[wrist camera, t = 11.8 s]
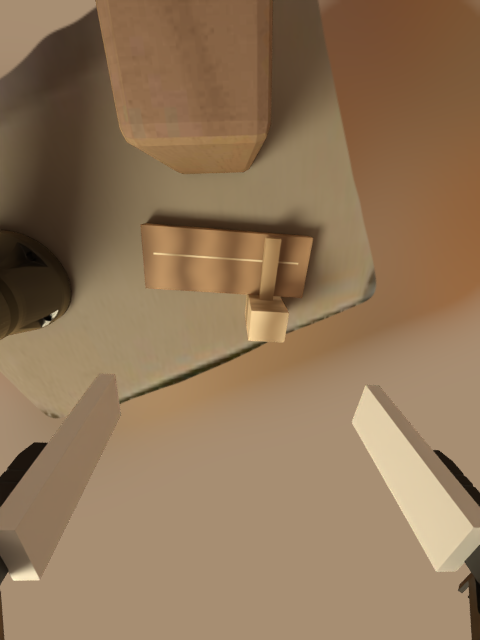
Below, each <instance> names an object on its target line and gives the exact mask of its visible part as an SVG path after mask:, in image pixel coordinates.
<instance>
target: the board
mask: <svg viewBox="0 0 480 640" xmlns="http://www.w3.org/2000/svg"><path fill="white" fill-rule="evenodd" d="M141 236H142V248H143V261H144V273H145V285H146V288H153V289H169V290H185V291H201V292H217V293H233V294H249V295H259V287H260V278H261V270H262V261H263V252H264V243H265V237H274V238H280V239H281V246H280V254H279V261H278V268H277V275H276V282H275V289H274V296H281V297H297V298H302V295H303V289H304V284H305V279H306V274H307V268H308V263H309V258H310V252H311V247H312V242H313V238H312V237H310V236H302V235H290V234H277V233H264V232H251V231H238V230H226V229H213V228H200V227H187V226H175V225H162V224H149V223H145V224H141Z"/></svg>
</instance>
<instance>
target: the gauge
mask: <svg viewBox="0 0 480 640" xmlns="http://www.w3.org/2000/svg"><path fill="white" fill-rule="evenodd" d="M280 246H281V239H280V238H274V237H265V243H264V252H263V261H262V270H261V278H260V287H259V295H249V294H247V299H246V310H245V318H246V326H247V334H248V341H266V342H284V339H285V333H286V327H287V322H288V316H289V312H288V310H287V308H286V306H285V304H284V303H283V301H282V299H281V297H280V296H274V289H275V282H276V275H277V268H278V261H279V254H280Z"/></svg>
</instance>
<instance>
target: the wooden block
mask: <svg viewBox="0 0 480 640" xmlns="http://www.w3.org/2000/svg"><path fill="white" fill-rule="evenodd" d="M95 1H96V6H97V11H98V17H99V22H100V27H101V33H102V38H103V43H104V48H105V54H106V59H107V64H108V70H109V75H110V80H111V86H112V91H113V96H114V101H115V107H116V112H117V117H118V123H119V128H120V130H121V132H122V134H123V136H124V138H125V140H126V142H128V143H130V144H131V145H133V146H135V147H137V148H138V149H140V150H142V151H143V152H145V153H147V154H148V155H150V156H152V157H153V158H155V159H157V160H159V161H160V162H162V163H164V164H165V165H167V166H169V167H170V168H172V169H174V170H176V171H177V172H180V173H182V174H198V173H228V172H245V171H246V170H248V169H249V168H250V166H251V164H252V163H253V161H254V159H255V157H256V155H257V154H258V152H259V150H260V148H261V146H262V144H263V143H264V141H265V139H266V137H267V134H268V131H269V128H270V126H271V88H272V25H273V0H95Z"/></svg>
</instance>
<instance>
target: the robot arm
mask: <svg viewBox="0 0 480 640" xmlns="http://www.w3.org/2000/svg"><path fill="white" fill-rule="evenodd" d="M70 299H71V288H70V283H69V279H68V276H67V274H66V272H65V270H64V268H63V267H62V265H61V263H60V262H59V261H58V260H57V258H56V257H55V256H54V255H53V254H52V253H51V252H50V251H49V250H48V249H47V248H45V247H44V246H43V245H41V244H40V243H39V242H37V241H35V240H34V239H32V238H30V237H28V236H25V235H23V234H20V233H16V232H12V231H5V230H0V340H1V339H3V338H4V337H6V336H8V335H13V334H18V333H22V332H27V331H32V330H37V329H40V328H43V327H45V326H48V325H49V324H51V323H52V322H54V321H55V320H57V319H58V318H60V317H61V316H62V315H63V314H64V313H65V311H66V310H67V308H68V306H69V303H70ZM120 416H121V412H120V405H119V398H118V391H117V384H116V377H115V374H98V376H97V377H96V379H95V380H94V381H93V383H92V384H91V385H90V387H89V388H88V389H87V391H86V392H85V393H84V395H83V396H82V398H81V399H80V400H79V402H78V403H77V404H76V406H75V407H74V408H73V410H72V411H71V412H70V414H69V415H68V417H67V418H66V419H65V421H64V422H63V423H62V425H61V426H60V427H59V429H58V430H57V431H56V433H55V434H54V435H53V437H52V438H51V440H50V441H49V442H48V443H33V444H32V445H30V446H29V447H28V448H26V449H25V450H24V451H22V452H21V453H20V454H19V455H18V456H17V457H16V458H15V459H14V461H13V462H12V463H11V464H10V466H9V467H8V468H7V471H6V472H4V473H3V474H2V475H1V477H0V584H1V582H2V581H3V579H4V578H5V576H6V574H7V573H8V572H9V574H10V576H11V577H12V579H13V580H40V579H41V577H42V575H43V573H44V571H45V569H46V567H47V565H48V563H49V561H50V559H51V556H52V555H53V552H54V550H55V548H56V546H57V544H58V542H59V540H60V538H61V536H62V534H63V532H64V530H65V528H66V526H67V524H68V522H69V520H70V518H71V516H72V514H73V512H74V510H75V508H76V506H77V504H78V502H79V500H80V498H81V496H82V494H83V491H84V489H85V487H86V485H87V483H88V481H89V479H90V477H91V475H92V473H93V471H94V469H95V467H96V465H97V463H98V461H99V459H100V457H101V455H102V453H103V451H104V449H105V447H106V445H107V443H108V441H109V439H110V437H111V435H112V433H113V431H114V428H115V426H116V424H117V422H118V420H119V418H120ZM352 423H353V425H354V427H355V429H356V431H357V432H358V434H359V436H360V438H361V440H362V441H363V443H364V445H365V447H366V448H367V450H368V452H369V454H370V455H371V457H372V459H373V461H374V463H375V464H376V466H377V468H378V470H379V471H380V473H381V475H382V477H383V478H384V480H385V482H386V484H387V485H388V487H389V489H390V491H391V492H392V494H393V496H394V498H395V500H396V501H397V503H398V505H399V507H400V509H401V510H402V512H403V514H404V516H405V517H406V519H407V521H408V523H409V524H410V526H411V528H412V530H413V531H414V533H415V535H416V537H417V538H418V540H419V542H420V544H421V546H422V547H423V549H424V551H425V553H426V554H427V556H428V558H429V560H430V562H431V563H432V565H433V567H434V569H435V570H436V572H444V571H457V570H458V569H459V568H460V567H461V566H462V565H463V563H464V562H465V563H466V565H467V566H468V568H469V569H470V571H471V573H470V574H469V575H468V576H467V577H466V579H465V580H464V581H463V582H462V583H461V584H460V585H459V589H458V591H460V592H461V593H463V592H464V591H465V590H466V589H467V588H468V587H469V596H468V598H469V599H470V616H471V633H472V640H480V493H479V491H478V490H477V489H476V488H475V487H473V484H472V483H471V482H470V481H469V480H468V478H467V477H465V476H464V475H463V473H462V472H461V470H460V469H459V468H458V467H457V466H456V465H455V463H454V462H453V461H452V460H450V459H449V458H448V457H447V456H445V455H444V454H443V453H442V452H440V451H439V450H432V449H431V448H430V446H429V445H428V444H427V443H426V442H425V441H424V439H423V438H422V437H421V436H420V435H419V433H418V432H417V431H416V430H415V428H414V427H413V426H412V425H411V423H410V422H409V421H408V420H407V419H406V417H405V416H404V415H403V414H402V413H401V411H400V410H399V409H398V408H397V407H396V405H395V404H394V403H393V402H392V401H391V399H390V398H389V397H388V396H387V395H386V393H385V392H384V391H383V390H382V388H381V387H380V386H376V385H366V386H365V388H364V391H363V394H362V396H361V399H360V402H359V404H358V407H357V410H356V413H355V415H354V418H353V420H352ZM0 640H4V629H3V616H2V602H1V592H0Z"/></svg>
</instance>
